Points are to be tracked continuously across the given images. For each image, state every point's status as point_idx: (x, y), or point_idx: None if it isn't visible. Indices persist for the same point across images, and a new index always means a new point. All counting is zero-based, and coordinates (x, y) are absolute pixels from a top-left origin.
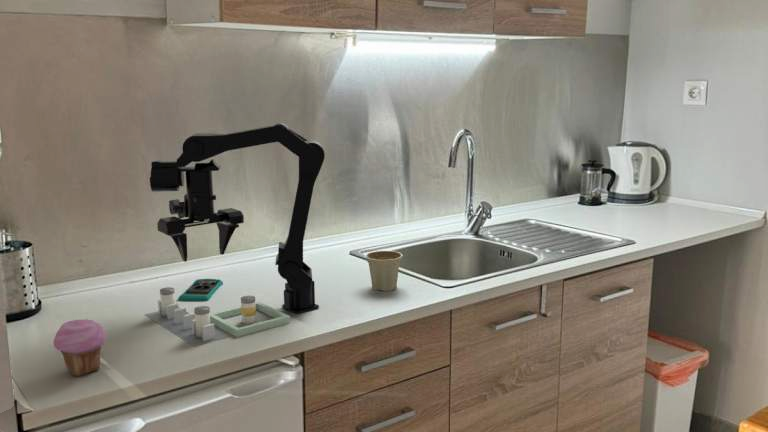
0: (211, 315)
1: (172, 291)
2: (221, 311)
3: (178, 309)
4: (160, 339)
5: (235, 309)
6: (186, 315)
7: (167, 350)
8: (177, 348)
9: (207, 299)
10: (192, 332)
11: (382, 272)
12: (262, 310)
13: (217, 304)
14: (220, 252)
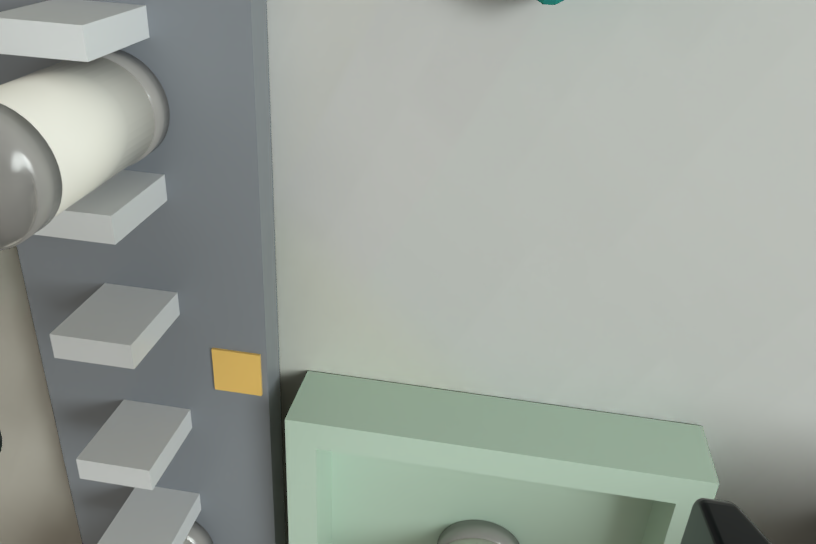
0: (295, 451)
1: (18, 243)
2: (386, 443)
3: (80, 350)
4: (5, 346)
5: (486, 472)
6: (92, 474)
7: (6, 477)
8: (53, 490)
9: (547, 3)
10: (133, 491)
11: None
12: (656, 526)
13: (627, 35)
14: (697, 532)
